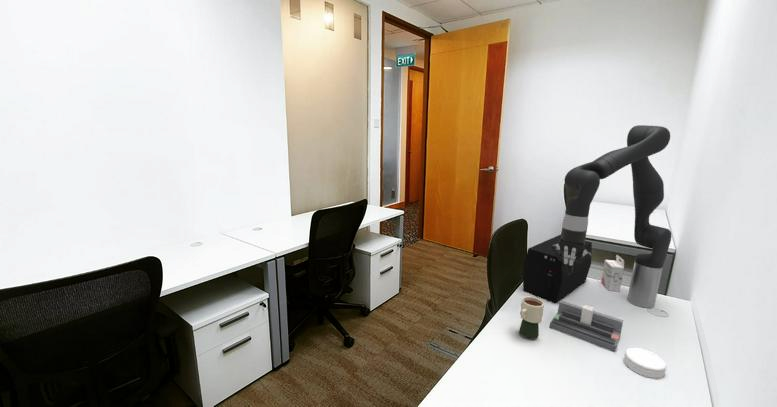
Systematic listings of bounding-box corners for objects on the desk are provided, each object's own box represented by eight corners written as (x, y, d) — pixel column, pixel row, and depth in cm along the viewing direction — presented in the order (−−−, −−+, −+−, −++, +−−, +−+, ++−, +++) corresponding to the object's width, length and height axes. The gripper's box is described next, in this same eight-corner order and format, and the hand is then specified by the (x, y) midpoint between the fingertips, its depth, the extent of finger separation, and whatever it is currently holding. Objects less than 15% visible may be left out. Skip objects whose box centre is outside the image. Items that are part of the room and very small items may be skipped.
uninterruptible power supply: (587, 283, 158) (594, 242, 153) (556, 306, 136) (563, 260, 132) (552, 271, 170) (557, 234, 165) (518, 291, 148) (523, 248, 144)
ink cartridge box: (600, 282, 159) (605, 253, 155) (611, 283, 158) (617, 254, 154) (607, 290, 150) (613, 260, 147) (620, 292, 149) (626, 261, 146)
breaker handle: (581, 322, 121) (584, 304, 119) (590, 325, 119) (594, 307, 117) (579, 325, 118) (582, 307, 117) (589, 329, 117) (592, 311, 115)
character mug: (528, 325, 122) (533, 292, 119) (547, 335, 116) (552, 301, 113) (509, 334, 116) (513, 300, 113) (527, 346, 110) (532, 310, 107)
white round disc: (647, 356, 107) (649, 346, 106) (673, 379, 97) (675, 369, 96) (616, 356, 107) (617, 346, 106) (638, 379, 97) (641, 368, 96)
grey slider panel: (558, 314, 130) (560, 300, 129) (620, 335, 117) (623, 320, 116) (549, 327, 121) (551, 312, 120) (614, 352, 108) (618, 335, 107)
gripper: (598, 229, 115) (590, 276, 118) (557, 221, 123) (550, 265, 127) (594, 233, 109) (586, 283, 113) (551, 225, 118) (544, 271, 121)
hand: (567, 273), depth 120 cm, fingers closed
